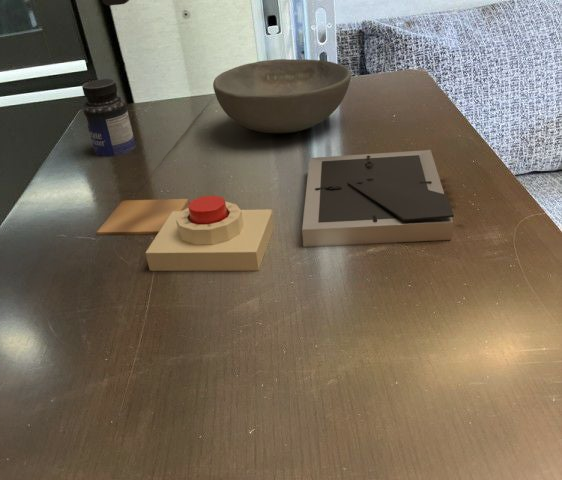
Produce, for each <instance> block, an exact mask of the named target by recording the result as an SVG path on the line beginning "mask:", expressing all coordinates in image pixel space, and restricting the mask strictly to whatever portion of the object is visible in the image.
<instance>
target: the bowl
mask: <svg viewBox="0 0 562 480" xmlns="http://www.w3.org/2000/svg"><path fill="white" fill-rule="evenodd" d="M351 79H352V72H351V70H350V69H349V68H348V67H346V66H345V65H343V64H339V63H336V62H333V61H329V60H322V59H321V60H320V59H308V58H307V59H306V58H305V59H293V58H292V59H288V58H287V59H286V58H285V59H284V58H279V59H278V58H277V59H271V60H270V59H269V60H267V59H266V60H260V61H255V62H250V63H245V64H241V65H239V66H236V67H233V68H231V69H228V70H225V71H223V72H221V73H220V74H218V75H217V76H216V77H215V78H214V79H213V82H212V83H213V84H212V87H213V93H214V94H215V97H216V100H217V103H218V104H219V106H220V107H221V109H222V110H223V112H224V113H225V114H226V115H227V116H228V117H229V118H230V119H231V120H232V121H233V122H235V123H236V124H237V125H239V126H241V127H243V128H246V129H248V130H251V131H255V132H259V133H264V134H290V133H297V132H301V131H305V130H308V129H310V128H312V127H314V126H316V125H318V124H320V123H321V122H323V121H324V120H326V119H328V118H329V117H330V116H331V115H332V114H333V113H334V112H335V111H336V110H337V109H338V107H339V106H340V104H342V102H343V100H344V98H345V96H346V94H347V92H348V90H349V86H350V83H351Z"/></svg>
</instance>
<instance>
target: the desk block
mask: <svg viewBox="0 0 562 480" xmlns="http://www.w3.org/2000/svg"><path fill="white" fill-rule="evenodd" d="M225 202H226V209H227V215H228V216H227V218H225V219H224V220H222V221H220V222H216V223H212V224H206V225H197V224H194V223H192V222H191V219H190V214H189V209H188V207H187V208H184V210H183V211H173V212H172V213H171V214H170V216H169V217H168V219H167V221H166V222H165V224H164V225H163V227H162V228H161V230H160V231H159V233H158V234H156V236H155V238H154V239H153V240H152V242H151V243H150V245H149V246H148V248H147V249H146V251H145V253H144V254H145V258H146V261H147V265H148V270H149V271H150V272H158V271H159V272H174V271H176V272H177V271H178V272H179V271H181V272H183V271H184V272H186V271H187V272H195V271H196V272H197V271H198V272H201V271H202V272H203V271H204V272H205V271H206V272H207V271H209V272H210V271H213V272H214V271H216V272H218V271H219V272H221V271H227V272H230V271H233V272H235V271H237V272H238V271H247V272H248V271H251V272H252V271H254V272H255V271H259V270H260V268H261V265H262V262H263V259H264V257H265V254H266V251H267V249H268V246H269V244H270V240H271V237H272V234H273V232H274V229H275V217H274V210H273V209H271V208H269V209H241V208H240V207H239V206H238V205H237V204H236V203H233V202H229V201H225Z"/></svg>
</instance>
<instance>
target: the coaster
mask: <svg viewBox="0 0 562 480" xmlns="http://www.w3.org/2000/svg"><path fill="white" fill-rule="evenodd" d="M189 203H190V202H189V198H171V199H168V198H167V199H129V200H128V199H127V200H124V199H123V200H122V201H121V202H120V203H119V204H118V206H116V208H115V209H114V210H113V212H112V213H111V214H110V215H109V216H108V218H107V219H106V220H105V222H104V223H102V225H101V226H100V227H99V228H98V230H97V231H96V234H97V236H122V235H123V236H125V235H126V236H129V235H130V236H131V235H132V236H133V235H157V234H158V233H159V231H160V230H161V228H162V227H163V225H164V224H165V222H166V221H167V219H168V217H169V216H170V214H171V213H172V212H173V211H183V210H185V209H186V207H187V206H188V205H189Z"/></svg>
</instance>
